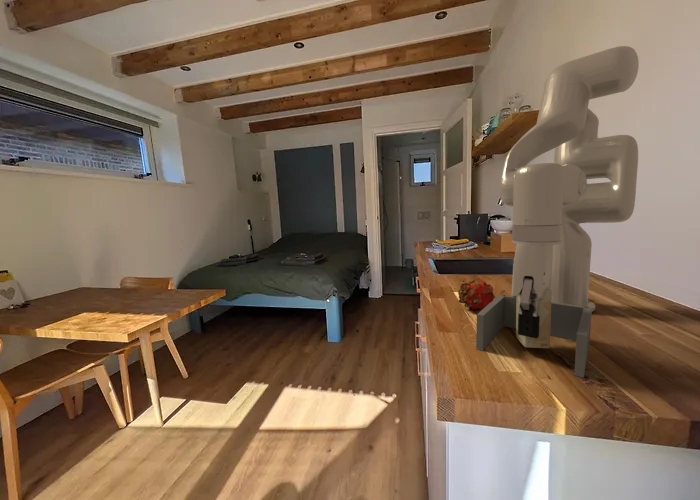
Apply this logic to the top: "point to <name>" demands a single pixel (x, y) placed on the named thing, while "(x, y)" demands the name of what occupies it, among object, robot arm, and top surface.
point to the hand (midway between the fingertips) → (532, 328)
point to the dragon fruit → (476, 294)
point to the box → (544, 323)
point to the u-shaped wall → (564, 324)
